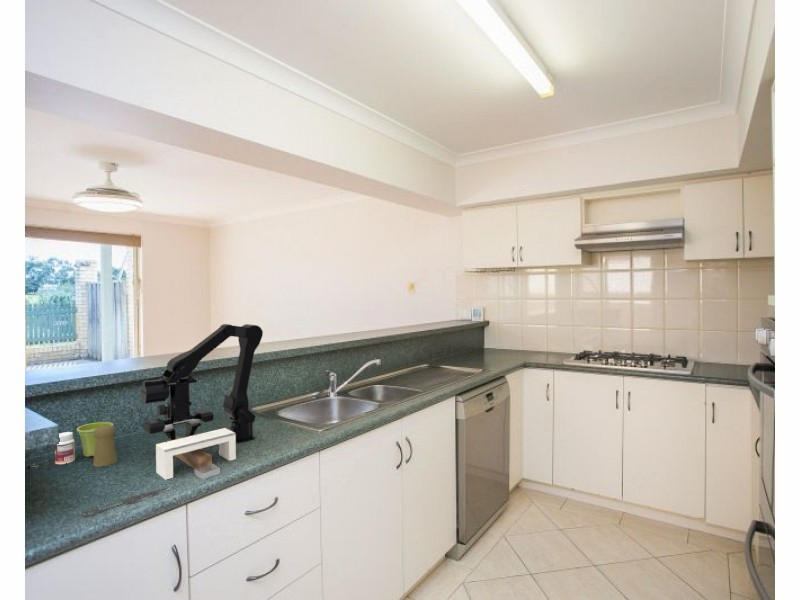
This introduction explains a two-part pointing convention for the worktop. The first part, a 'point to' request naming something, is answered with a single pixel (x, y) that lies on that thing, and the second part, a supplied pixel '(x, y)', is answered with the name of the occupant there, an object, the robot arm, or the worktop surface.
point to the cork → (104, 446)
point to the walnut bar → (195, 457)
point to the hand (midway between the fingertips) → (180, 447)
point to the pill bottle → (65, 448)
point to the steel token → (207, 471)
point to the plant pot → (89, 437)
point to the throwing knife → (127, 501)
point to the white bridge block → (194, 448)
